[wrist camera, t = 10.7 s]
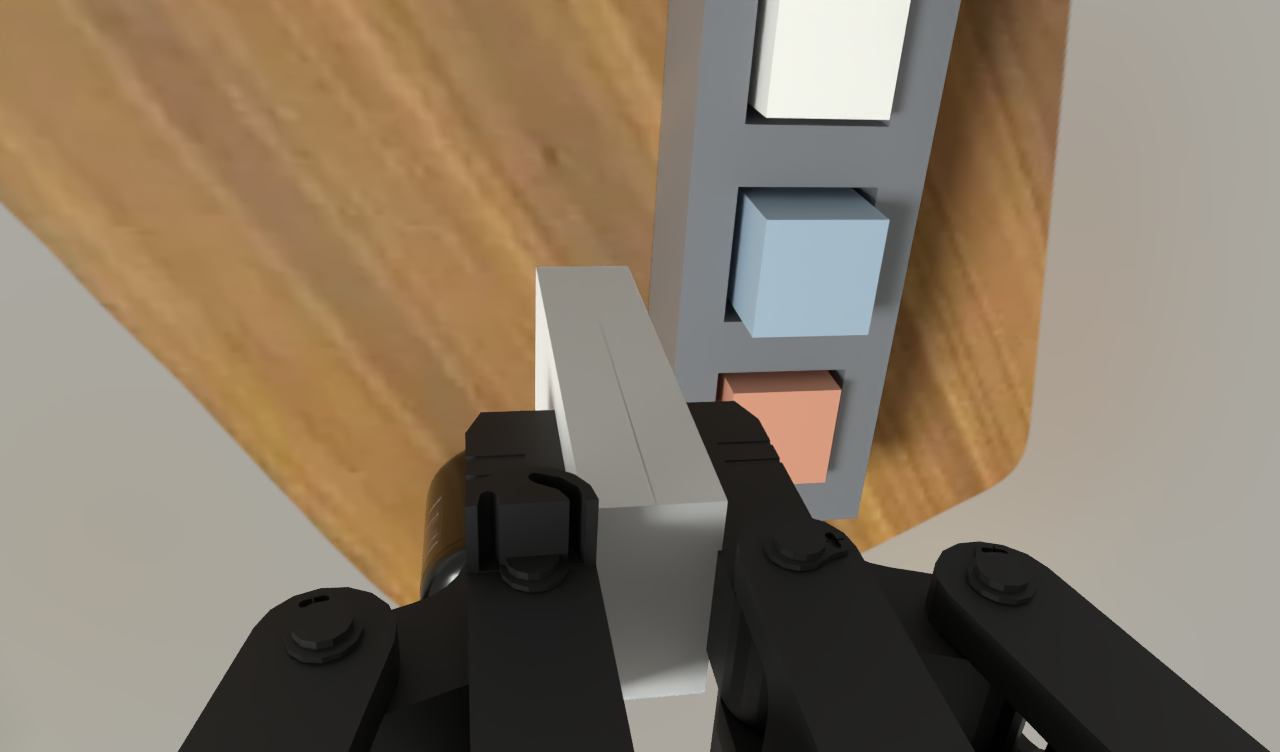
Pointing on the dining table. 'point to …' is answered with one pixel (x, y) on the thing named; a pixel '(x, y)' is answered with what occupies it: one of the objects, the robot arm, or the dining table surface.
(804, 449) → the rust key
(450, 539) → the supplement bottle
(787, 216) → the blue key
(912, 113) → the console
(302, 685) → the robot arm
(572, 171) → the dining table surface
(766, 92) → the white key
